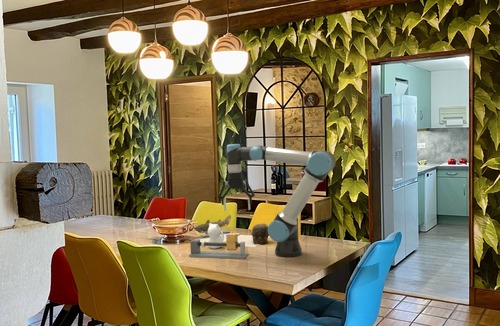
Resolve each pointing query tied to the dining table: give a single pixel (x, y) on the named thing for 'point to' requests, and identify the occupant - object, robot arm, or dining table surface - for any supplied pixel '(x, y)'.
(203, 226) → the wood carving
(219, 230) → the cat figurine
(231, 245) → the sleeve
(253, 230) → the carved stone head
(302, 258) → the dining table surface
